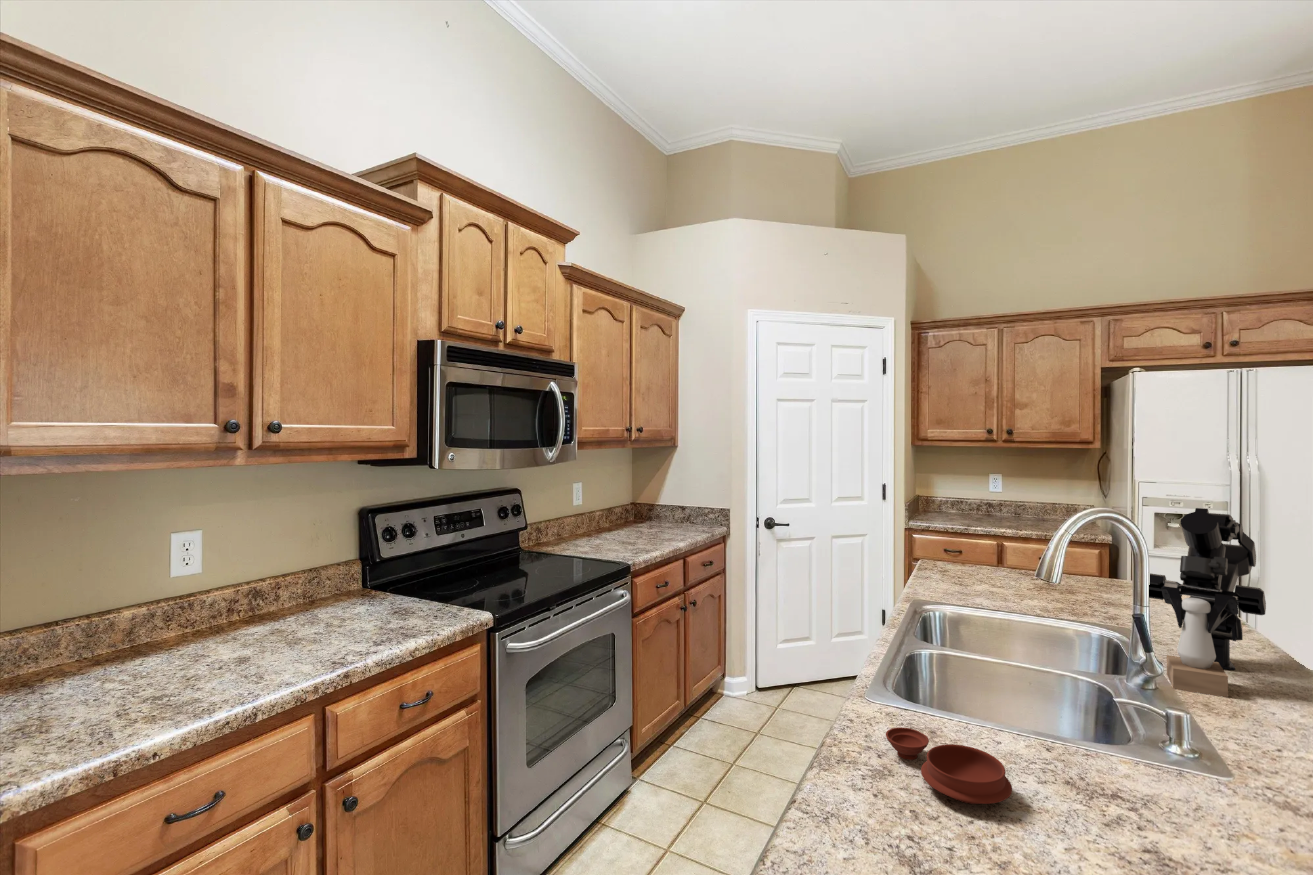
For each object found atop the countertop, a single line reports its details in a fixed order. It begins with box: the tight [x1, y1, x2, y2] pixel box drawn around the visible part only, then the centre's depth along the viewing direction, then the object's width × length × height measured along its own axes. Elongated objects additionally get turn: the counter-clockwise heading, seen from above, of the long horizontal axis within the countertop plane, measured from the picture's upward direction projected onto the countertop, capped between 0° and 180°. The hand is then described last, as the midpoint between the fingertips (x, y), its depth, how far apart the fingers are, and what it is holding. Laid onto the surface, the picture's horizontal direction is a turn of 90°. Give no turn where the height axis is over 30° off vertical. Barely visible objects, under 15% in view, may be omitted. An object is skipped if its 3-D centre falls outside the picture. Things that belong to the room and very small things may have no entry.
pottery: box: [885, 727, 1013, 805], centre depth 93 cm, size 12×20×4 cm, turn 23°
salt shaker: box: [1176, 597, 1216, 669], centre depth 123 cm, size 6×6×13 cm
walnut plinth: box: [1166, 654, 1229, 698], centre depth 123 cm, size 8×8×4 cm
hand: (1194, 629), depth 122 cm, fingers open, 4 cm apart
